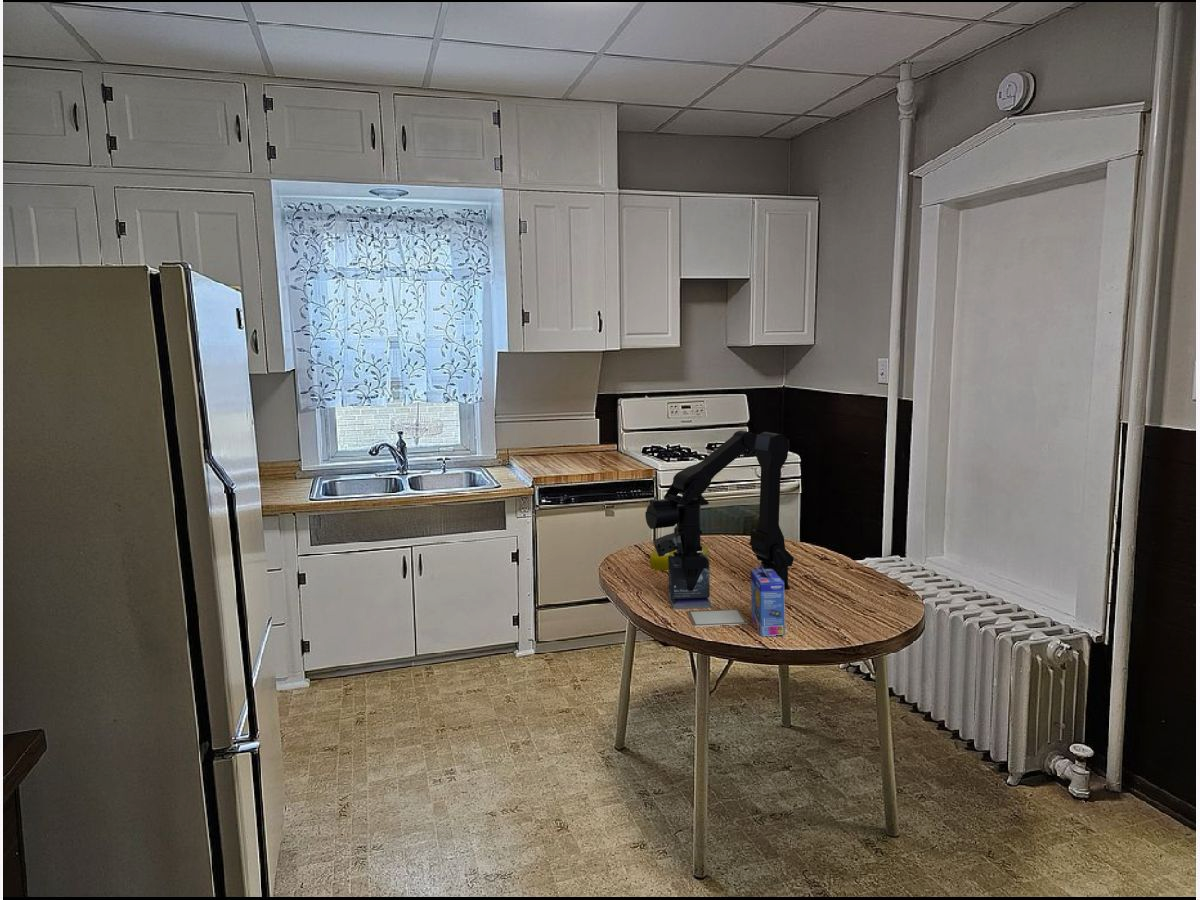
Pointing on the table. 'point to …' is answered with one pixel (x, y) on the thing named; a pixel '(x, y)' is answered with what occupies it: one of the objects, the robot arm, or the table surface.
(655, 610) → the table surface
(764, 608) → the ink cartridge box
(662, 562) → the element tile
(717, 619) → the card
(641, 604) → the table surface
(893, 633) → the table surface
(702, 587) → the box
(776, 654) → the table surface
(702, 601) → the ink pad
